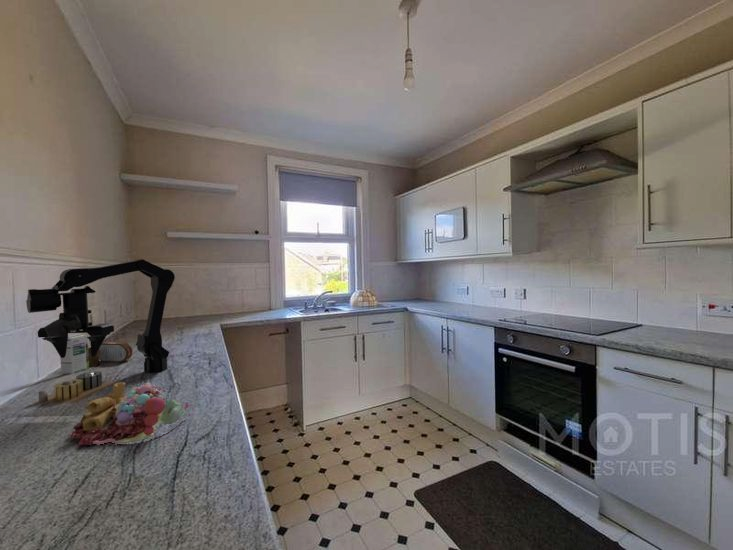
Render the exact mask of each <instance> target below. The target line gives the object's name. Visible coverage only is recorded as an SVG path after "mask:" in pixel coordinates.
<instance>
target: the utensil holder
mask: <svg viewBox="0 0 733 550" xmlns="http://www.w3.org/2000/svg"><path fill="white" fill-rule="evenodd" d="M88 356H89V368H91V367H95V366H97V365H98V366H99V364H100V360H99V354H98V352H97V354H96V356H94V357H92V355H91V343H90V340H88Z"/></svg>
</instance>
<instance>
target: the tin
mask: <svg viewBox="0 0 733 550" xmlns="http://www.w3.org/2000/svg"><path fill="white" fill-rule="evenodd" d="M98 354H99V361H101V362H104V363H106V362H107V363H123V362H125V361H128V360H129V359H131V358H132V356H133V348H132V346H131V345H130V344H129V343H128V342H125V341H111V340H110V341H109V340H108V341H103V342H102V344H101V346H100V348H99V350H98Z"/></svg>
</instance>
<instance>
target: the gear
mask: <svg viewBox="0 0 733 550" xmlns="http://www.w3.org/2000/svg"><path fill="white" fill-rule="evenodd" d="M75 378H76V379H80V380H83V390H90V389H94V388H97V387H100V386H101V385H102V382H103V372H102V371H101V370H100V371H88V372H85V373H80V374H78V375H77V376H76V377H75ZM76 379H75V380H76Z"/></svg>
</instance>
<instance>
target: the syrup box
mask: <svg viewBox="0 0 733 550" xmlns="http://www.w3.org/2000/svg"><path fill="white" fill-rule="evenodd" d="M87 337H89V335H88V334H85V333H77V334H73V335H68V341H67V350H66V355H65V357H64V358H61V357H60V356H59V357H60V359H59V360H60V373H61V376H62V375H66V374H71V375H72V374H73V375H74V374H77V373H80V372H83V371H86V370H89V369H90V367H89V356H88V348H89V342H88V341H89V339H88V338H87Z"/></svg>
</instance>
